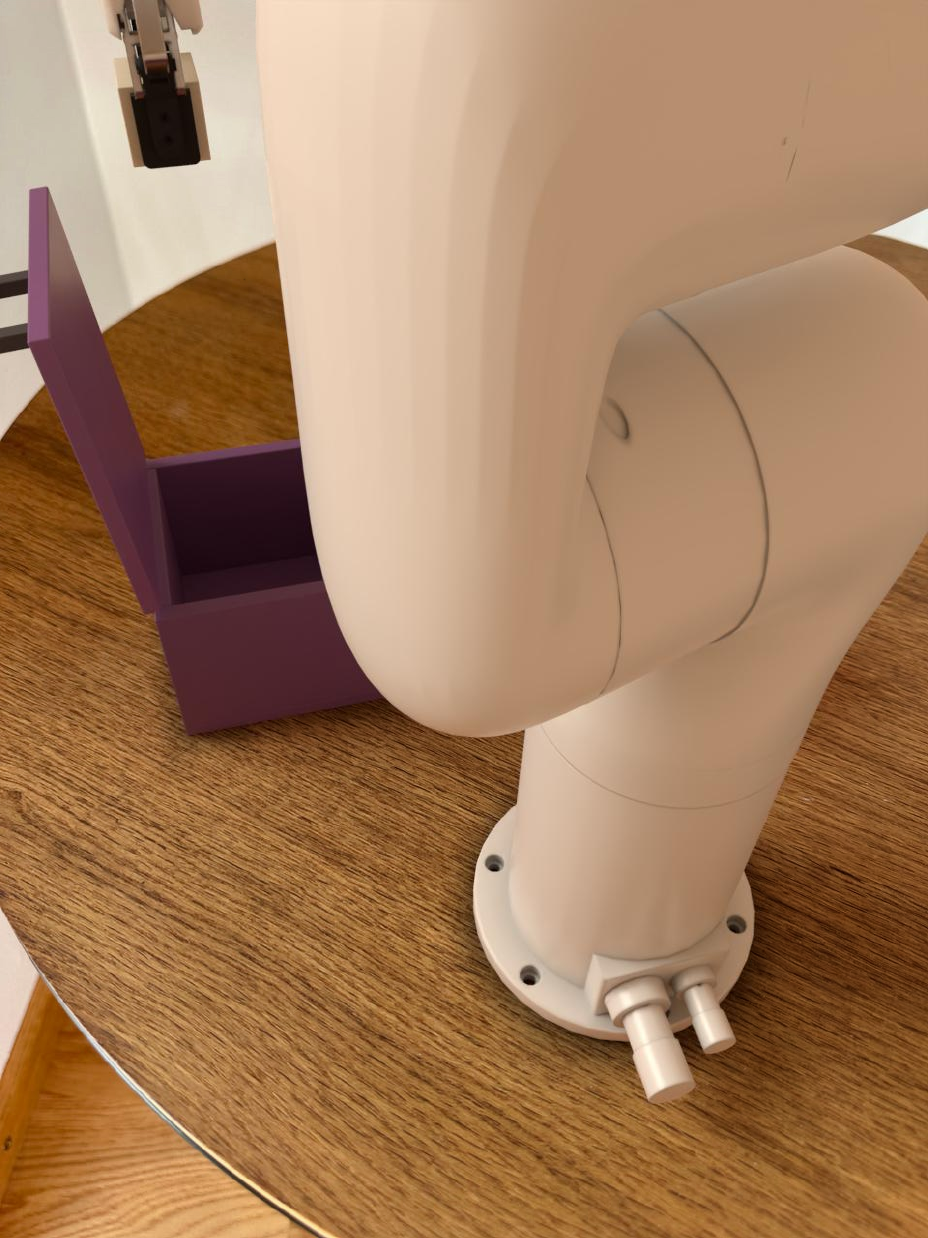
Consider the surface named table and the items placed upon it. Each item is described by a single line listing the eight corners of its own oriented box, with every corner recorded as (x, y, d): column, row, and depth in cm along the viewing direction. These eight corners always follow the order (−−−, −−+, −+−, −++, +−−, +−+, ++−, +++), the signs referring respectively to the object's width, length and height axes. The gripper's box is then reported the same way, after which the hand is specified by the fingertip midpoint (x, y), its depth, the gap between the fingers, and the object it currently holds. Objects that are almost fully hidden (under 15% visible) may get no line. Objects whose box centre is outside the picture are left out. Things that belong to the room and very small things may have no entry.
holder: (398, 541, 65) (394, 424, 59) (444, 687, 58) (447, 570, 51) (169, 578, 63) (139, 460, 56) (186, 736, 55) (154, 620, 49)
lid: (47, 184, 45) (-76, 206, 44) (50, 337, 37) (-99, 366, 37) (145, 451, 56) (47, 472, 55) (161, 611, 48) (48, 638, 48)
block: (211, 160, 62) (199, 80, 59) (133, 167, 62) (116, 87, 58) (202, 128, 65) (190, 51, 62) (128, 135, 64) (112, 57, 61)
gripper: (199, -215, 45) (253, 204, 59) (164, -282, 56) (216, 84, 70) (12, -209, 44) (111, 219, 57) (13, -279, 55) (96, 94, 68)
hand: (168, 141), depth 63 cm, fingers closed on block, 4 cm apart
